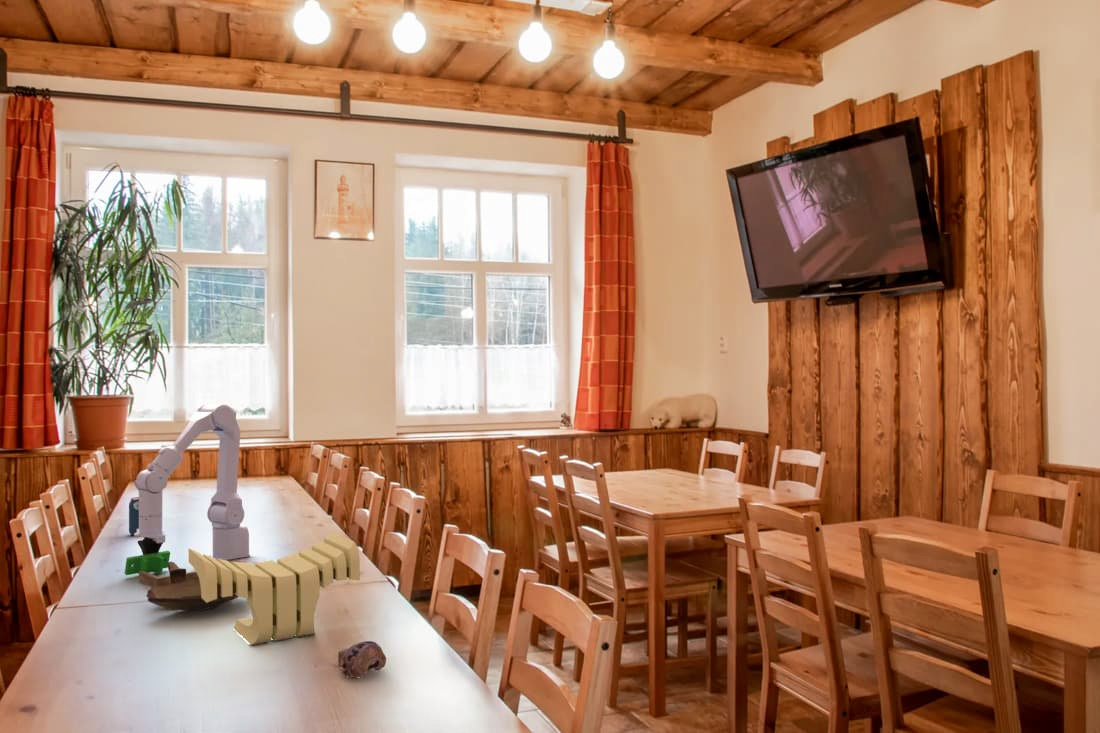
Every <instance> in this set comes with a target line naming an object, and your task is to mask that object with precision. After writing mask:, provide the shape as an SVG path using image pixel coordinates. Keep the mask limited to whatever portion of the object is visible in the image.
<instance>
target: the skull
mask: <svg viewBox="0 0 1100 733" xmlns="http://www.w3.org/2000/svg"><path fill="white" fill-rule="evenodd" d="M337 658H338V660H337V663H339V664H338V666H339V665H340V666H339V672H341V673H342V674H344V675H345V678H348V677H354V679H355V678H357V677H360V678H362V677H363V676H364V675H365V674H366V673H368V672H369V671H371V670H375V671H380V670H381V669H383V668H385V665H386V664H387V657H386V655H385V653H384V651H383V649H382V647H381V646H380V645H379V644H378V643H377V642H376V641H373V640H366V641H361V642H357V643H356V644H352V645H351V646H350V647H348V648H344V649H342V650H340V651H338V656H337ZM340 667H341V668H340ZM347 676H348V677H347ZM361 676H362V677H361ZM357 679H358V678H357Z"/></svg>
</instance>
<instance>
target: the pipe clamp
mask: <svg viewBox="0 0 1100 733" xmlns="http://www.w3.org/2000/svg"><path fill="white" fill-rule="evenodd" d="M170 555H171V552H170V551H169V550H164V551H159V552H157V553H152V554H146V555H143V554H141V555H140V554H139V555H135V556H134V555H133V556H129V557H126V560H125V569H124V573H123V574H125V575H126V576H130V575H136V574H138V575H139V572H141V571H145V572H148V573H150V574H151V573H156V574H158V575H162V574H163V570H164V569H168V563H169V562H170V557H171V556H170Z"/></svg>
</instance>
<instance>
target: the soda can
mask: <svg viewBox="0 0 1100 733" xmlns="http://www.w3.org/2000/svg"><path fill="white" fill-rule="evenodd" d="M137 529H139V496H137V497H136V496H135V497H132V498H130V501H129V503H128V533H129V535H134V533H137Z"/></svg>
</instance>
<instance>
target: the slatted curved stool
mask: <svg viewBox="0 0 1100 733" xmlns="http://www.w3.org/2000/svg"><path fill="white" fill-rule="evenodd" d="M323 540H324V541H322V540H318V541H317V542H316V543H313V544H312V545H311V548H309V547H306V548H304V549H302V550H300V551H299V552H298V554H296V553H293V554H290V555H288V556H285V557H282V558H278V559H277V560H276V561H275V560H269V561H267V560H266V561H263V562H262V561H261V562H259V561H258V562H254V564H253V563H251V562H239V561H238V562H237V561H229V560H222V559H218V561H217V560H216V559H215V558H213V557H211V556H209V554H208V555H207V554H201V553H200V552H199V551H196V550H194V549H191V548H188V564H190V565H191V566H192V567H193V570H194V571H196V572H197V574H198V577H199V580H200V586H201V597H202V599H203V600H204V601H205V602H206V603H207V602H210V601H212V600H215V599H217V595H220V596H221V597H227V596H233V593H234V594H235V595H237V596H239V597H240V598H243V599H246V603H247V604H248V606H249V609H250V611H251V612H250V613H251V615H252V617H246V618H238V619H236V622H235V624H234V625H233V627H232V629H233V628H234V629H235V630H236V631H237V632H238V633H239V634H240V635H242V636H243V638H245V639H246V640H247V641H248V642H249V643H250V644H251V645H250V646H253V645H259V644H265V643H269V642H271V641H272V640H271V638H272V639H273V640H274V641H273V642H276V641H281V639H282V640H286V639H287V638H288V639H292V638H294V637H296V636H297V638H298V637H304V635H305V636H310V635H315V634H316V631H315V624H314V623H315V621H314V620H315V612H316V609H317V605H318V601H319V599H320V595H321V594H320V593H321V592H320V591H321V590H320V588H322V589H325V588H327V587H328V586H330V585H331V584H333V583H334V580H335V581H337V582H339V581H346V580H347V579H349V580H350V581H351V580H353V581H360V580H361V579H360V578H361V576H360V574H361V570H360V567H361V566H360V562H361V561H360V560H361V559H360V553H359V548H358V546H357V543H355V541H353V540H351V539H349V538H347V537H345V536H342V535H340V534H338V533H335V532H334V531H333V532H331V533H329V534H328V535H326V536H325V537H324V538H323ZM239 597H238V598H239ZM295 635H296V636H295ZM264 642H265V643H264ZM258 643H259V644H258ZM252 644H253V645H252Z"/></svg>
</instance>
